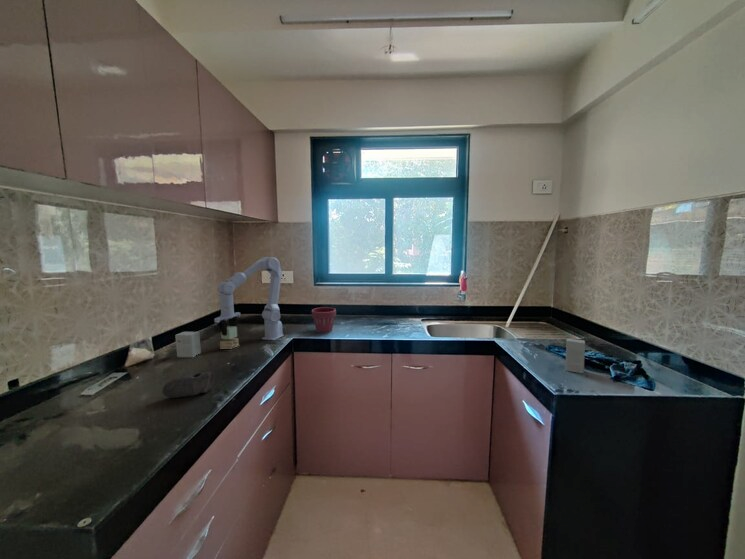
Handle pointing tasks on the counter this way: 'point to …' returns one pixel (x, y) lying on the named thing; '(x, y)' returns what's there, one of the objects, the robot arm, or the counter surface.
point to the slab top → (229, 342)
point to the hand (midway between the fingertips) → (228, 333)
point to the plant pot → (324, 318)
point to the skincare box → (575, 355)
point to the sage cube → (230, 332)
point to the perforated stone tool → (189, 385)
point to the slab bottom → (229, 346)
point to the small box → (188, 344)
